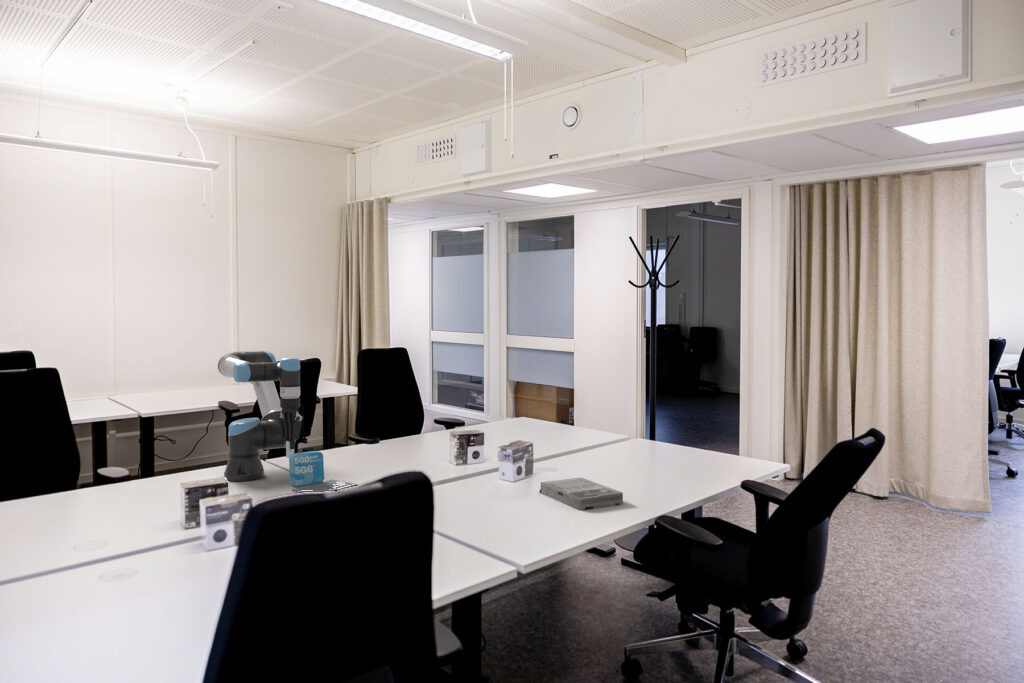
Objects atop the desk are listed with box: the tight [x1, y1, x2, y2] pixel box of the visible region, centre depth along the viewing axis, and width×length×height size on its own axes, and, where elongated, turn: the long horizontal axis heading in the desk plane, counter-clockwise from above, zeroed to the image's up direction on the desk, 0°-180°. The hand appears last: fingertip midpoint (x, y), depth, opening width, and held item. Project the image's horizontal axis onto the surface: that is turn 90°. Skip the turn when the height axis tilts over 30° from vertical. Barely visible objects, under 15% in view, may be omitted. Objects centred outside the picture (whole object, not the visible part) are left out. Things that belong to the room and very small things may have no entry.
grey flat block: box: [539, 477, 624, 511], centre depth 247 cm, size 18×27×4 cm
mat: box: [291, 479, 359, 494], centre depth 259 cm, size 14×20×1 cm
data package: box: [288, 450, 325, 487], centre depth 265 cm, size 12×4×12 cm, turn 123°
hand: (290, 457), depth 270 cm, fingers closed
